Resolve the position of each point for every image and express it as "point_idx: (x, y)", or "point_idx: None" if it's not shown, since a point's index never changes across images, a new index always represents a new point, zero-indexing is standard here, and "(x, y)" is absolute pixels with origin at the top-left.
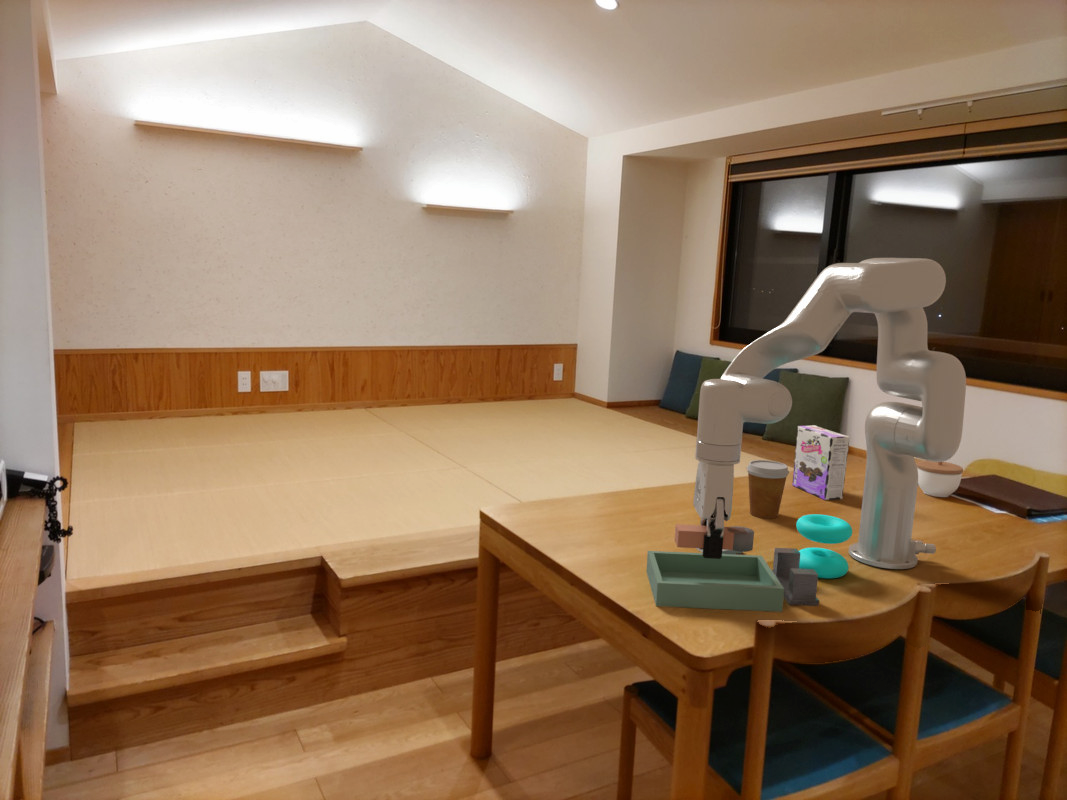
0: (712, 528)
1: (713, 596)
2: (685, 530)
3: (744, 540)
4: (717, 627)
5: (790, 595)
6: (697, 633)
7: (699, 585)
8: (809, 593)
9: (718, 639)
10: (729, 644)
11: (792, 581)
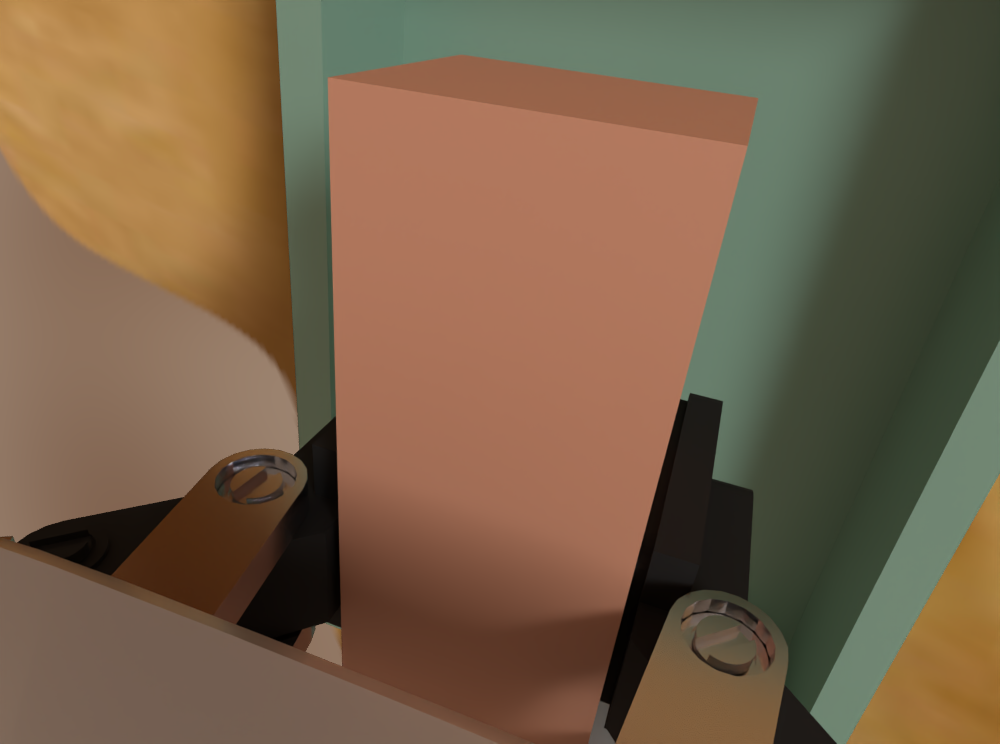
0: (44, 545)
1: None
2: (356, 222)
3: None
4: (174, 164)
5: None
6: (88, 23)
7: (285, 164)
8: None
9: (63, 120)
10: (37, 156)
11: None
